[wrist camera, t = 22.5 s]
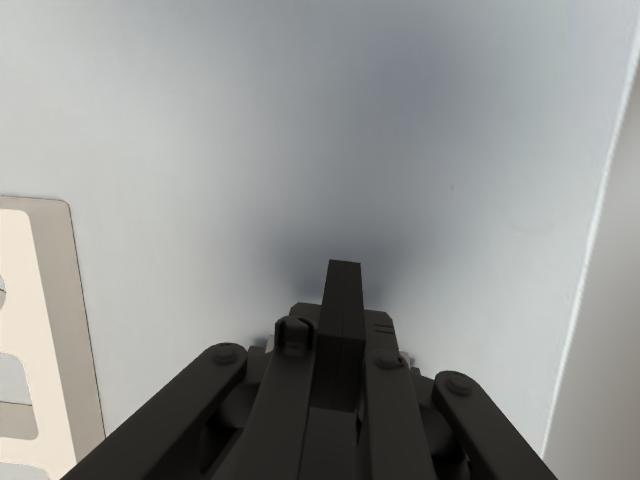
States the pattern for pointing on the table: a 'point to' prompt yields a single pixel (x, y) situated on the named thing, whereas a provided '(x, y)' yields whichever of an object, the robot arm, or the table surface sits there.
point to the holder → (46, 339)
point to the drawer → (317, 439)
